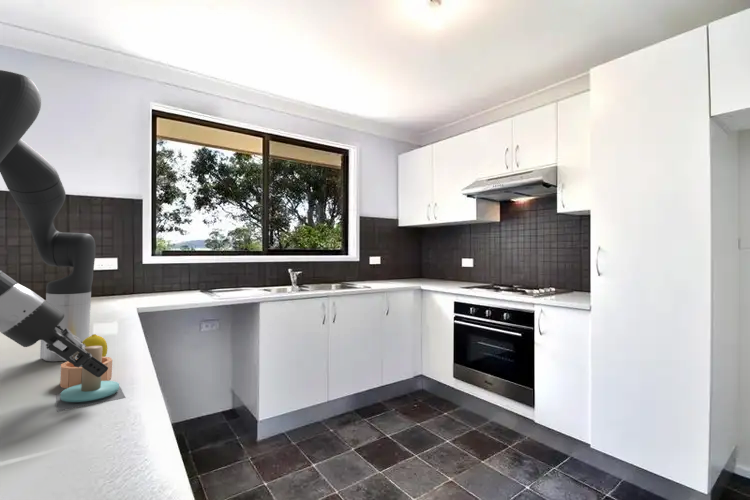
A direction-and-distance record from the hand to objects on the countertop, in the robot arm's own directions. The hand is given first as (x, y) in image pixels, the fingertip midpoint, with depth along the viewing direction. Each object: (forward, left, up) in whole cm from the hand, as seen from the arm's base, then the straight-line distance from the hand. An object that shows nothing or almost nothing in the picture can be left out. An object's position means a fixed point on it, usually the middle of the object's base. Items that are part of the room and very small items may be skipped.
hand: (100, 367), depth 71 cm
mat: (-1, -1, -6) cm, 6 cm away
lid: (-1, -1, -5) cm, 5 cm away
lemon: (-17, +16, -6) cm, 24 cm away
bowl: (-9, +6, -6) cm, 12 cm away
